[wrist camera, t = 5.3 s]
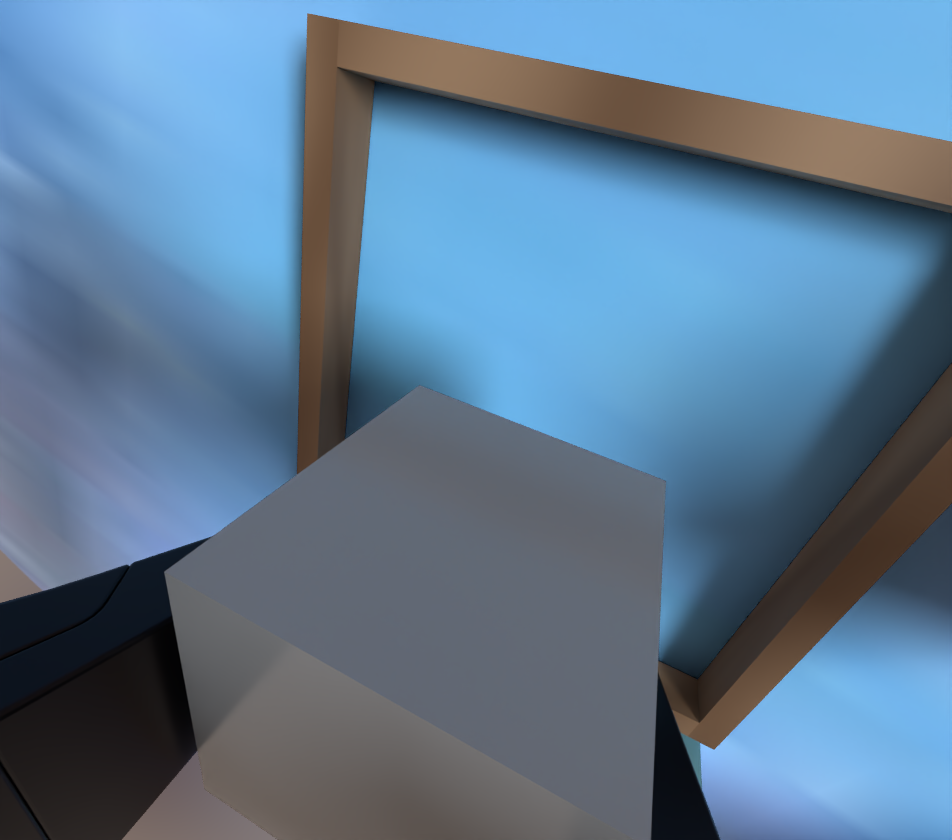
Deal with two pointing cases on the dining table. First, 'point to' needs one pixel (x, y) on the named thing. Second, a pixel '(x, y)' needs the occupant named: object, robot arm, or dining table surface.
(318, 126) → the corral
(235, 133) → the dining table surface
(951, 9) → the dining table surface
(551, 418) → the dining table surface
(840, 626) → the dining table surface
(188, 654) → the slate block
